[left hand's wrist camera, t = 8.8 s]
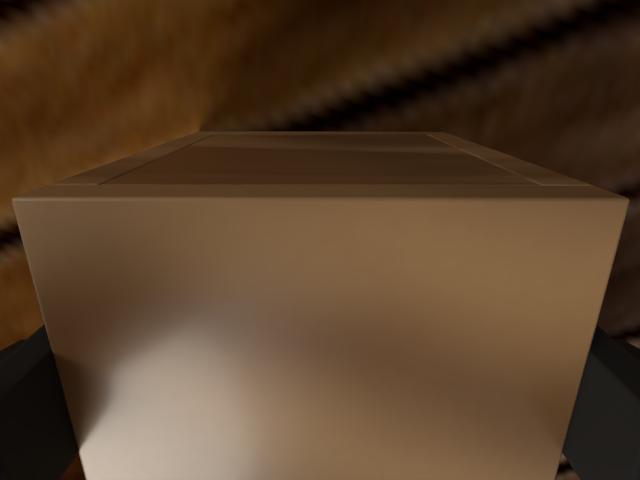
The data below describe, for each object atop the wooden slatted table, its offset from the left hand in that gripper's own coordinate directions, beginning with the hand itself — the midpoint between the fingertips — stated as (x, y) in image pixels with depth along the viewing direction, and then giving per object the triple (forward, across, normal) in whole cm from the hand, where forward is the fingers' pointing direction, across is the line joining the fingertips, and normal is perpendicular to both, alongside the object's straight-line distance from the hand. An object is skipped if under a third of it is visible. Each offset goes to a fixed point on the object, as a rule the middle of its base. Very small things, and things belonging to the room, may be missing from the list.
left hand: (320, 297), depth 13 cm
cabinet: (+7, 0, -5) cm, 9 cm away
